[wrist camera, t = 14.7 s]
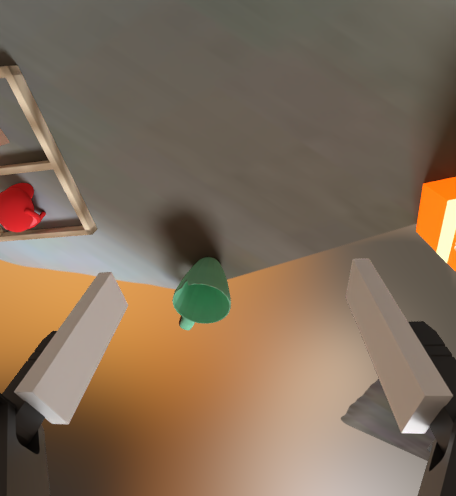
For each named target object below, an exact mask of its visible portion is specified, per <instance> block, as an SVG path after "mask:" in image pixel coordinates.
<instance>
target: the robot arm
mask: <svg viewBox="0 0 456 496" xmlns="http://www.w3.org/2000/svg"><path fill="white" fill-rule="evenodd" d="M346 300H347V302H348V305H349V307H350V309H351V312H352V314H353V317H354V319H355V322H356V324H357V326H358V329H359V331H360V334H361V336H362V338H363V341H364V343H365V346H366V348H367V351H368V353H369V356H370V358H371V361H372V363H373V365H374V368H375V370H376V373H377V375H378V378H379V380H380V382H381V385H382V387H383V390H384V392H385V395H386V397H387V400H388V402H389V404H390V407H391V409H392V412H393V414H394V417H395V419H396V421H397V424H398V426H399V429H400V431H401V433H421V434H424V433H425V432H426V431H427V430H428V428H429V427H430V428H431V430H432V432H433V434H434V436H435V438H436V439H435V440H434V441H433V442H432V443H431V445H430V446H429V447H428V449H427V450H428V451H429V452H431V453H430V456H429V459H428V463H427V466H426V469H425V473H424V476H423V479H422V483H421V486H420V490H419V493H418V496H456V360H455V358H454V357H452V354H451V352H450V351H449V350H448V348H447V347H445V344H444V342H443V341H442V339H441V338H440V337H439V335H438V334H437V332H436V331H435V330H433V329H432V328H431V327H430V326H428V325H427V324H426V323H425V322H423V321H421V322H408V321H407V320H406V318H405V316H404V315H403V313H402V311H401V310H400V308H399V307H398V305H397V303H396V302H395V300H394V298H393V297H392V295H391V294H390V292H389V290H388V289H387V287H386V285H385V284H384V282H383V281H382V279H381V277H380V276H379V274H378V272H377V271H376V269H375V267H374V266H373V264H372V263H371V261H370V259H369V258H362V259H353V261H352V266H351V272H350V276H349V282H348V287H347V292H346ZM127 307H128V304H127V302H126V300H125V298H124V296H123V294H122V292H121V290H120V288H119V286H118V284H117V282H116V280H115V278H114V276H113V274H112V272H106V273H99V274H98V275H97V277H96V278H95V279H94V281H93V282H92V284H91V285H90V286H89V288H88V289H87V291H86V292H85V293H84V295H83V296H82V297H81V299H80V301H79V302H78V303H77V304H76V306H75V307H74V309H73V310H72V311H71V313H70V314H69V316H68V317H67V318H66V320H65V321H64V323H63V324H62V325H61V327H60V328H59V330H58V331H52V332H51V333H50V334H49V335H48V336H47V337H46V338H44V339H43V340H42V342H41V343H40V344H39V345H38V347H37V348H36V349H35V352H34V353H33V354H32V355H31V356H30V357H29V359H28V361H26V363H25V364H24V365H23V367H22V368H21V369H20V371H19V372H18V373H17V375H16V376H15V377H14V379H13V380H12V381H11V383H10V384H9V386H8V387H7V388H6V389H5V391H4V392H3V393H2V394H1V393H0V496H50V488H49V478H48V467H47V458H46V447H45V437H44V429H43V427H42V425H41V424H42V422H43V420H44V418H46V419H47V420H49V421H50V422H51V423H52V424H69V422H70V420H71V418H72V416H73V414H74V412H75V410H76V408H77V406H78V404H79V402H80V400H81V398H82V396H83V394H84V392H85V390H86V388H87V386H88V384H89V382H90V380H91V378H92V376H93V374H94V372H95V370H96V368H97V366H98V364H99V362H100V360H101V358H102V356H103V354H104V352H105V351H106V349H107V347H108V344H109V343H110V340H111V338H112V336H113V335H114V333H115V330H116V329H117V327H118V325H119V322H120V321H121V319H122V317H123V315H124V313H125V311H126V309H127Z"/></svg>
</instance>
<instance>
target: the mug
mask: <svg viewBox="0 0 456 496" xmlns="http://www.w3.org/2000/svg"><path fill="white" fill-rule="evenodd" d="M230 301H231V300H230V293H229V288H228V283H227V279H226V276H225V273H224V271H223V269H222V267H221V265H220V263H219V262H218V261H217V260H216V259H214V258H211V257H205V258H202V259H200V260H199V261H198V262H197V263H196V264H195V265H194V266H193V267H192V268H191V269H190V270H189V272H188V273H187V274H186V275H185V277H184V278H183V279H182V281H181V282H180V284H179V286H178V287H177V289H176V290H175V293H174V296H173V305H174V308H175V309H176V311H177V312H178V313H179V314H180V315H181V318H180V321H179V325H180V327H181V328H183V329H185V330H190V329H191V328H192V326H193V325H194V323H195V322H197V323H213V322H217V321H219V320H222V319H223V318H225V317H226V316H227V315H228V313H229V311H230V308H231V302H230Z"/></svg>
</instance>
